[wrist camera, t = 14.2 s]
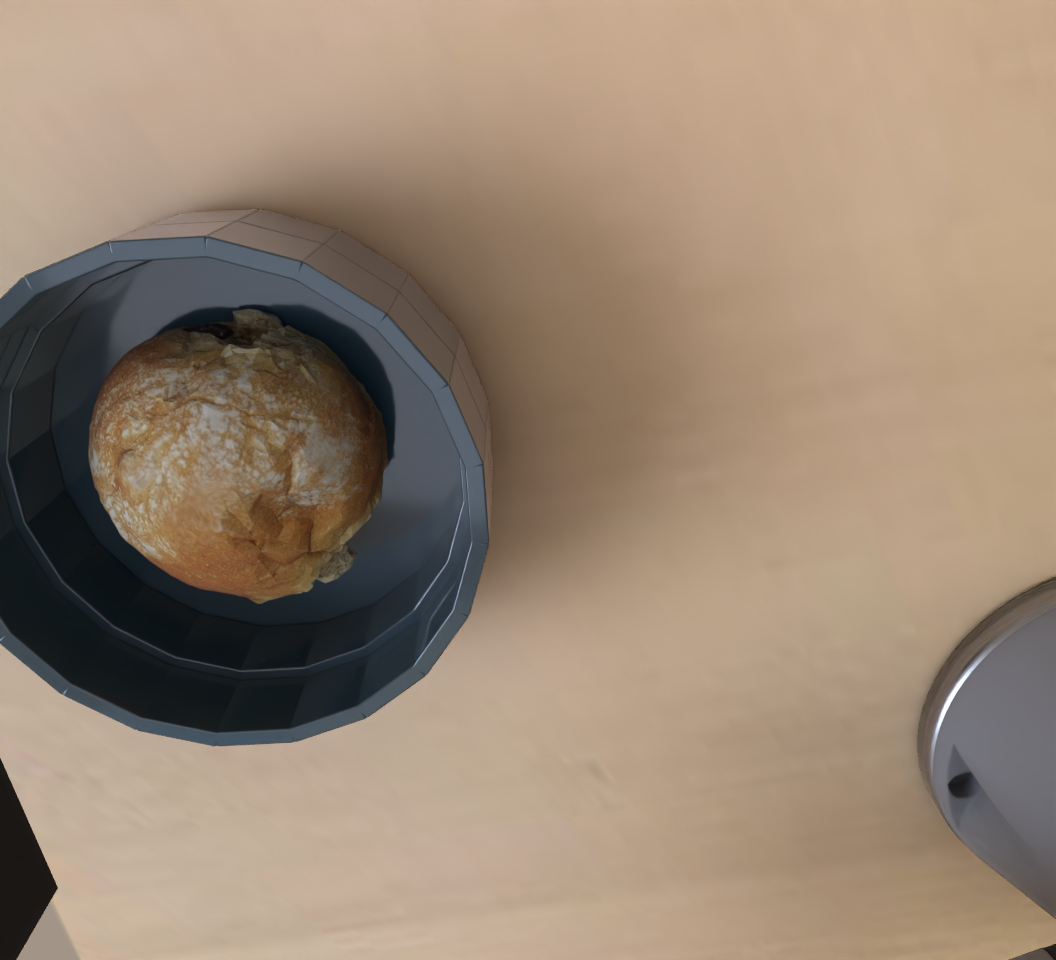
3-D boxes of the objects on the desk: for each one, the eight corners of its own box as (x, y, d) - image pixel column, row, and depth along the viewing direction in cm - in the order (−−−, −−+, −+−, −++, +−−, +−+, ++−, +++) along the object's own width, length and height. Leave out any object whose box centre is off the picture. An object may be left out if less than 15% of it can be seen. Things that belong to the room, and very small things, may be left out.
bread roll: (383, 317, 38) (330, 261, 30) (421, 577, 37) (378, 592, 29) (138, 358, 38) (20, 313, 30) (172, 615, 37) (62, 640, 29)
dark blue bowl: (579, 376, 36) (594, 441, 29) (353, 703, 41) (323, 820, 34) (151, 105, 32) (58, 110, 25) (-37, 505, 37) (-153, 593, 31)
